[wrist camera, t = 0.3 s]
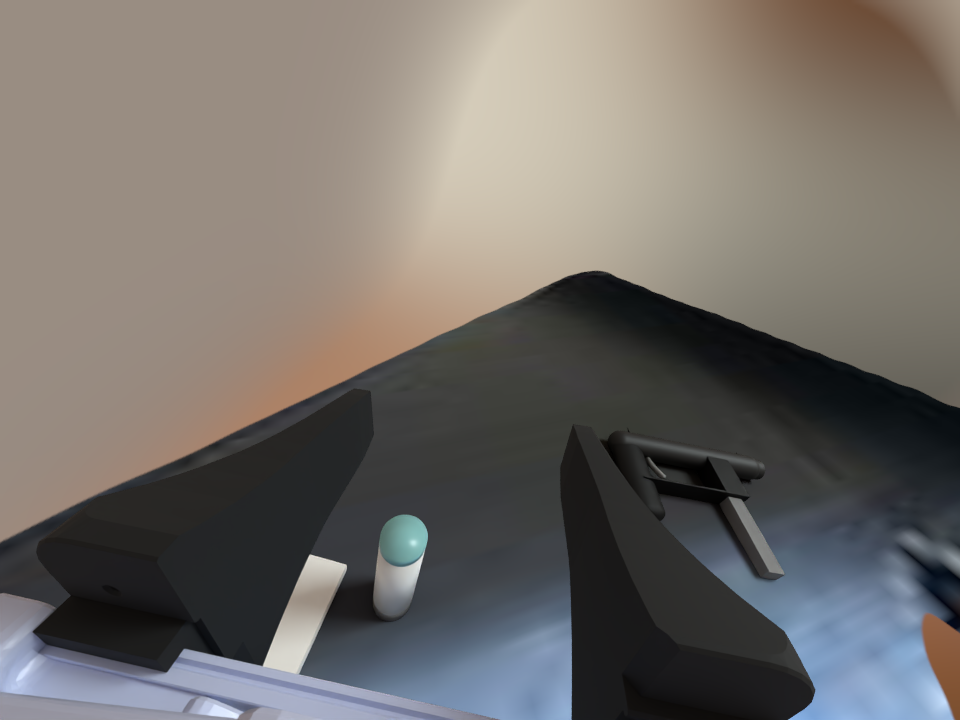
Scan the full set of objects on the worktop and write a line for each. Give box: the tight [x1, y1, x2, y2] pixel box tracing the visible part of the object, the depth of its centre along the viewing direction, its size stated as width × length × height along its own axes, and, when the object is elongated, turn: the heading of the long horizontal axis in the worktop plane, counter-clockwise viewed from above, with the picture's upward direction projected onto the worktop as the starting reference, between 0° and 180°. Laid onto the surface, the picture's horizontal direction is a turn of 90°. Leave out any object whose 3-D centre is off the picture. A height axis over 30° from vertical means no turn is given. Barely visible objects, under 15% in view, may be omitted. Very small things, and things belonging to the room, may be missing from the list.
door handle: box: [608, 428, 785, 580], centre depth 40 cm, size 3×20×16 cm
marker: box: [372, 515, 428, 622], centre depth 23 cm, size 3×3×9 cm
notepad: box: [263, 555, 347, 674], centre depth 20 cm, size 16×12×1 cm
